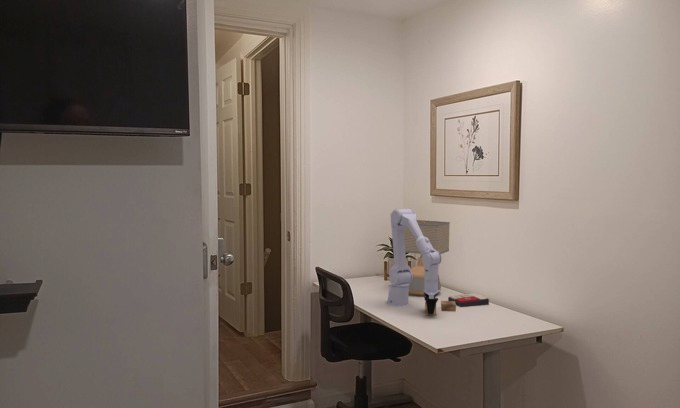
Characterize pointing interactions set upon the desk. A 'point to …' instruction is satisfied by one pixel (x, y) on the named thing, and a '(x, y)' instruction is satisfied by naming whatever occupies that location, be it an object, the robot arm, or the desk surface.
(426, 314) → the oak cube
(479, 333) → the desk surface
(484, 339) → the desk surface
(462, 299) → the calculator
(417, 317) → the desk surface
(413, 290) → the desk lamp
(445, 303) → the walnut slab
